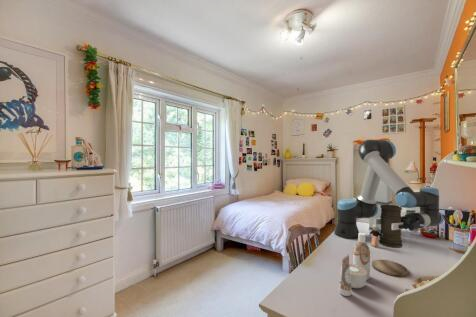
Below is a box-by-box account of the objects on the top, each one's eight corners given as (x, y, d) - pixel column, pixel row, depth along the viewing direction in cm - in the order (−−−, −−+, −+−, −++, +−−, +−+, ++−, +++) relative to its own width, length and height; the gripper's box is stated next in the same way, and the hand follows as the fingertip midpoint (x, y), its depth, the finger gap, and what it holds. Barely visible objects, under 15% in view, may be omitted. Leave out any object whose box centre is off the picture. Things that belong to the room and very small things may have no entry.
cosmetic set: (354, 303, 83) (355, 251, 83) (329, 292, 90) (330, 243, 90) (375, 277, 101) (376, 234, 101) (352, 270, 108) (353, 229, 107)
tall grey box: (385, 233, 159) (387, 182, 158) (369, 229, 167) (370, 181, 166) (391, 230, 166) (392, 181, 166) (374, 226, 174) (375, 180, 174)
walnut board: (391, 261, 117) (392, 259, 117) (415, 275, 103) (415, 273, 103) (365, 262, 116) (365, 260, 115) (386, 277, 102) (386, 274, 102)
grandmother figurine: (367, 245, 137) (367, 224, 137) (368, 243, 140) (369, 222, 140) (382, 249, 132) (382, 226, 132) (383, 247, 135) (384, 225, 135)
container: (406, 249, 103) (406, 208, 103) (383, 247, 105) (384, 207, 105) (396, 242, 112) (397, 204, 112) (376, 240, 114) (376, 203, 114)
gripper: (440, 234, 105) (406, 240, 97) (395, 222, 125) (363, 226, 117) (441, 217, 105) (406, 222, 97) (396, 208, 125) (364, 211, 117)
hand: (383, 224), depth 107 cm, fingers closed on container, 8 cm apart
